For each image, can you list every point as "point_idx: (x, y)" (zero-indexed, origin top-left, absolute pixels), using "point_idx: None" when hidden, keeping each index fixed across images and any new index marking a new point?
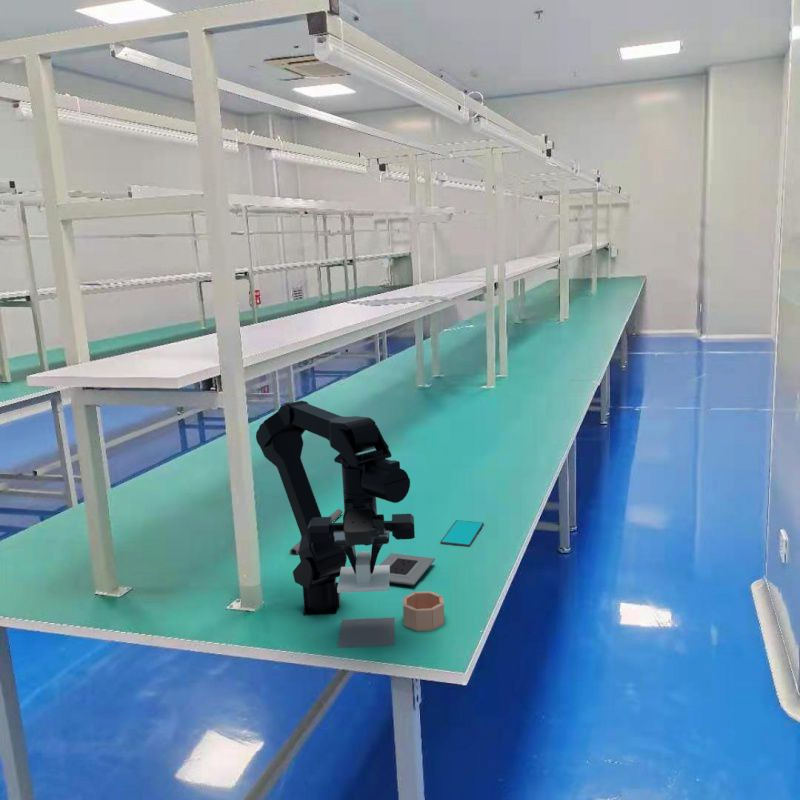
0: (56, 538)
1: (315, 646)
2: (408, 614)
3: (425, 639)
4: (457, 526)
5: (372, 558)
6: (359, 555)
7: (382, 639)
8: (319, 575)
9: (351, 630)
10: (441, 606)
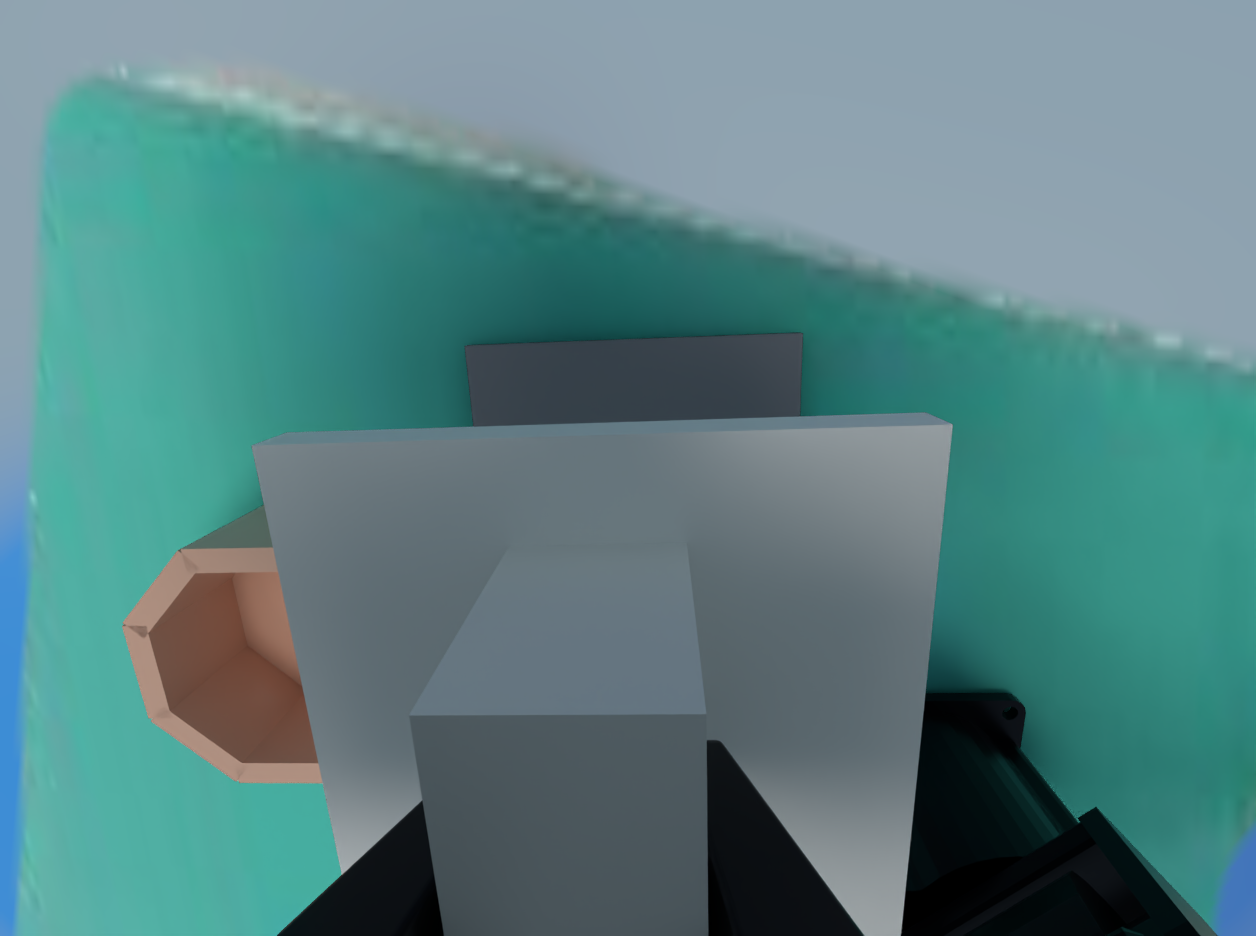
0: None
1: (934, 374)
2: None
3: (306, 425)
4: None
5: (365, 932)
6: None
7: (539, 414)
8: (1083, 899)
9: None
10: (139, 603)
